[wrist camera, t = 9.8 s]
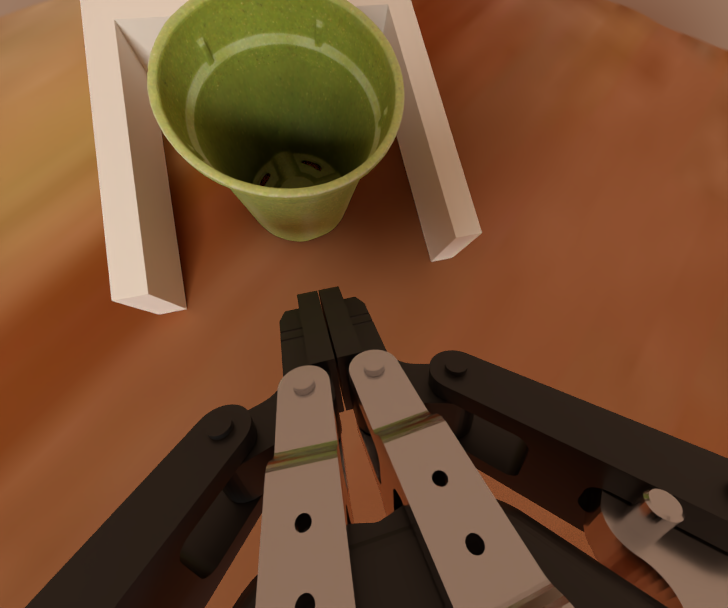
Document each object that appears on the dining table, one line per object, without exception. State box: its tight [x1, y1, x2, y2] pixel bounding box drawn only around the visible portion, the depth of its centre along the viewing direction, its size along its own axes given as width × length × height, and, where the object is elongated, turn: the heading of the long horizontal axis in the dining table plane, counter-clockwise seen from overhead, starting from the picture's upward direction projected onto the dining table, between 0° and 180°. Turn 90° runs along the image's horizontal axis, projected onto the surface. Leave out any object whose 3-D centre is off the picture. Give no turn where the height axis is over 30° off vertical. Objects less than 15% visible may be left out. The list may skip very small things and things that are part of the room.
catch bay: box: [80, 0, 482, 314], centre depth 18 cm, size 18×16×4 cm
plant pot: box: [147, 0, 405, 241], centre depth 16 cm, size 9×9×9 cm
